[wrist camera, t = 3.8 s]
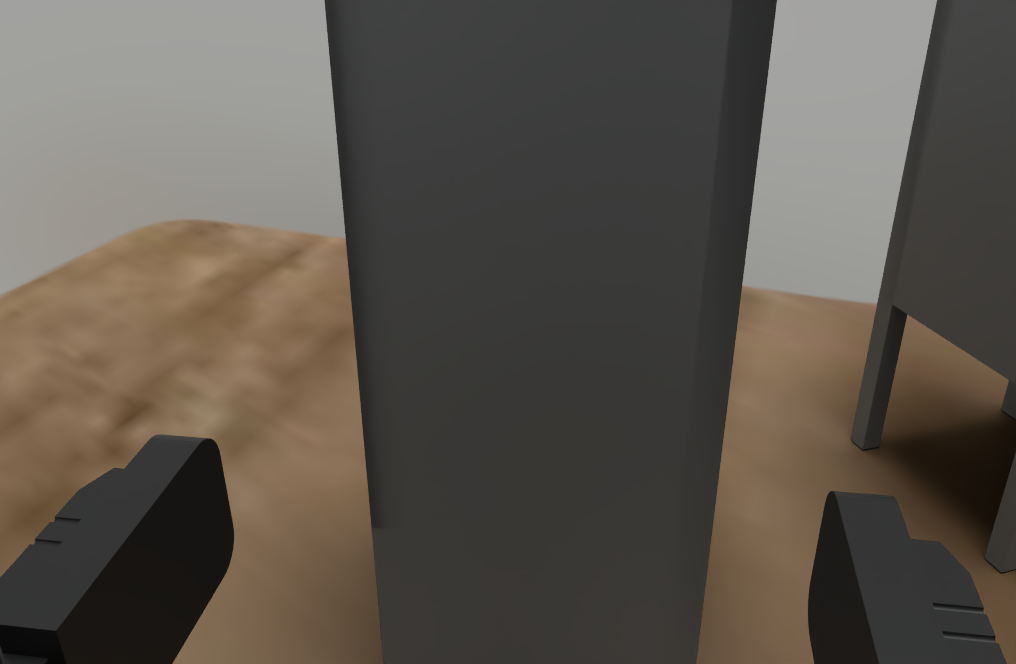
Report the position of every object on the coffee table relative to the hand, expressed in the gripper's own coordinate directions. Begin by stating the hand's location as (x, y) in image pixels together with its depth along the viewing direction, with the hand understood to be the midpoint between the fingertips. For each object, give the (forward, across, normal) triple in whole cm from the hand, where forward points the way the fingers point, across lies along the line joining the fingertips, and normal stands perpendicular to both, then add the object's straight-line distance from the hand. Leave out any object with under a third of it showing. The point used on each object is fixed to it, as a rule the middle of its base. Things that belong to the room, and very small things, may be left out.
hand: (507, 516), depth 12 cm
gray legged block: (+7, 0, +9) cm, 11 cm away
